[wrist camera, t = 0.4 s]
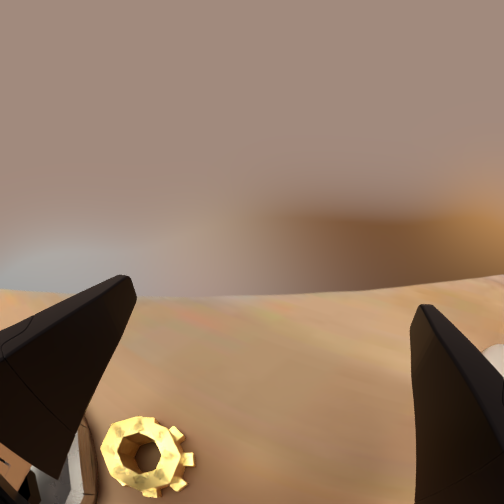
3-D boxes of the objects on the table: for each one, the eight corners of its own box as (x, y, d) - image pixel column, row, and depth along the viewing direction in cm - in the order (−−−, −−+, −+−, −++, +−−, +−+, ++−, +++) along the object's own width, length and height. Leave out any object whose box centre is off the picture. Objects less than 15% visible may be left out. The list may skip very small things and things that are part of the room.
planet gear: (178, 508, 13) (168, 513, 10) (103, 471, 14) (81, 466, 11) (205, 440, 18) (201, 432, 15) (132, 410, 18) (116, 394, 16)
